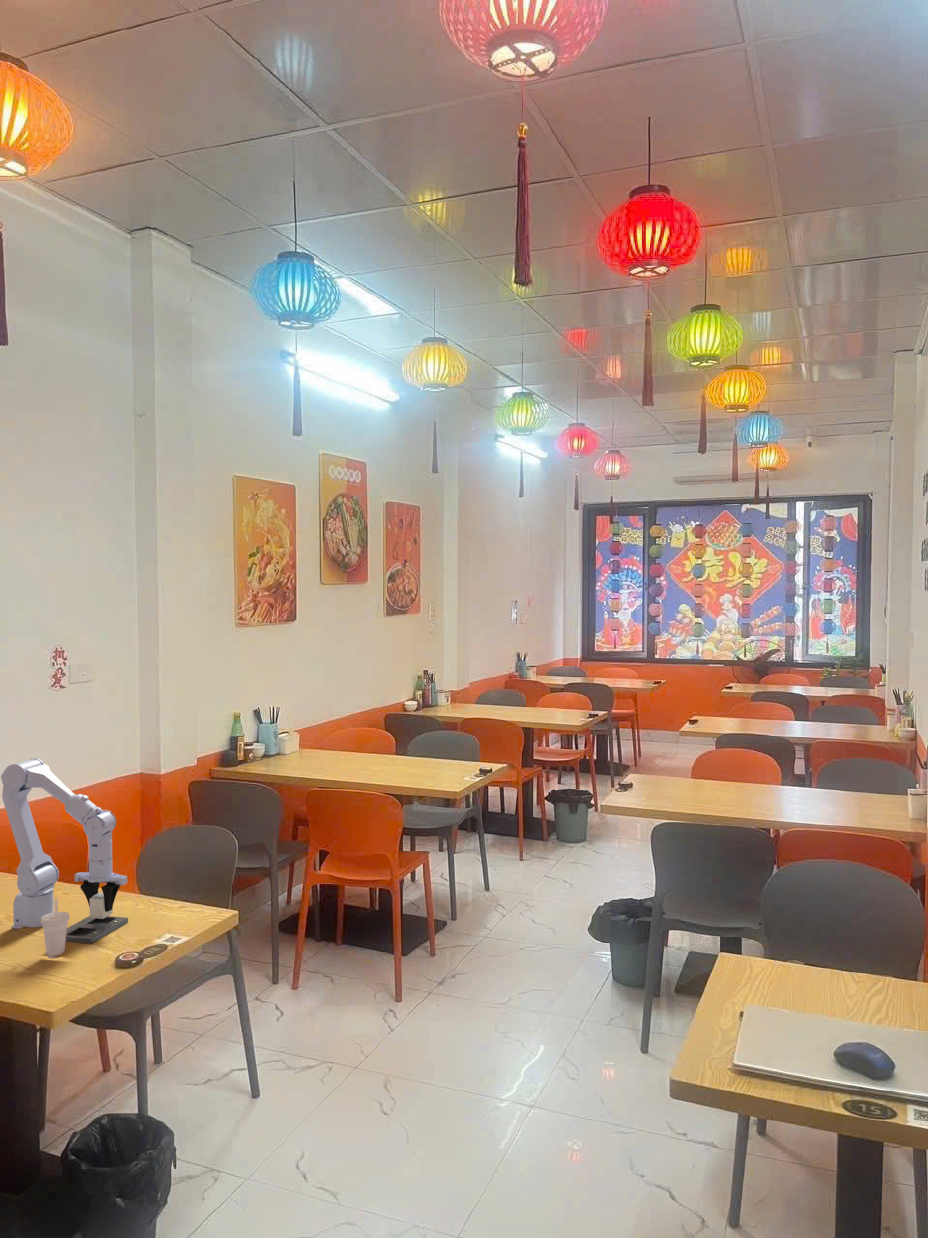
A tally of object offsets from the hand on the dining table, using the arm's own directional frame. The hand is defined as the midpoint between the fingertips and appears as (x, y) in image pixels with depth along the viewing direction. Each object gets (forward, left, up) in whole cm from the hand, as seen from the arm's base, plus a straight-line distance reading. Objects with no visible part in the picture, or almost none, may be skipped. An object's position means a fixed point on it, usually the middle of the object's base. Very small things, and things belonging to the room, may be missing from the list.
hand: (101, 909), depth 231 cm
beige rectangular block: (0, 0, -2) cm, 2 cm away
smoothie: (0, -18, -5) cm, 19 cm away
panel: (0, -4, -5) cm, 6 cm away
